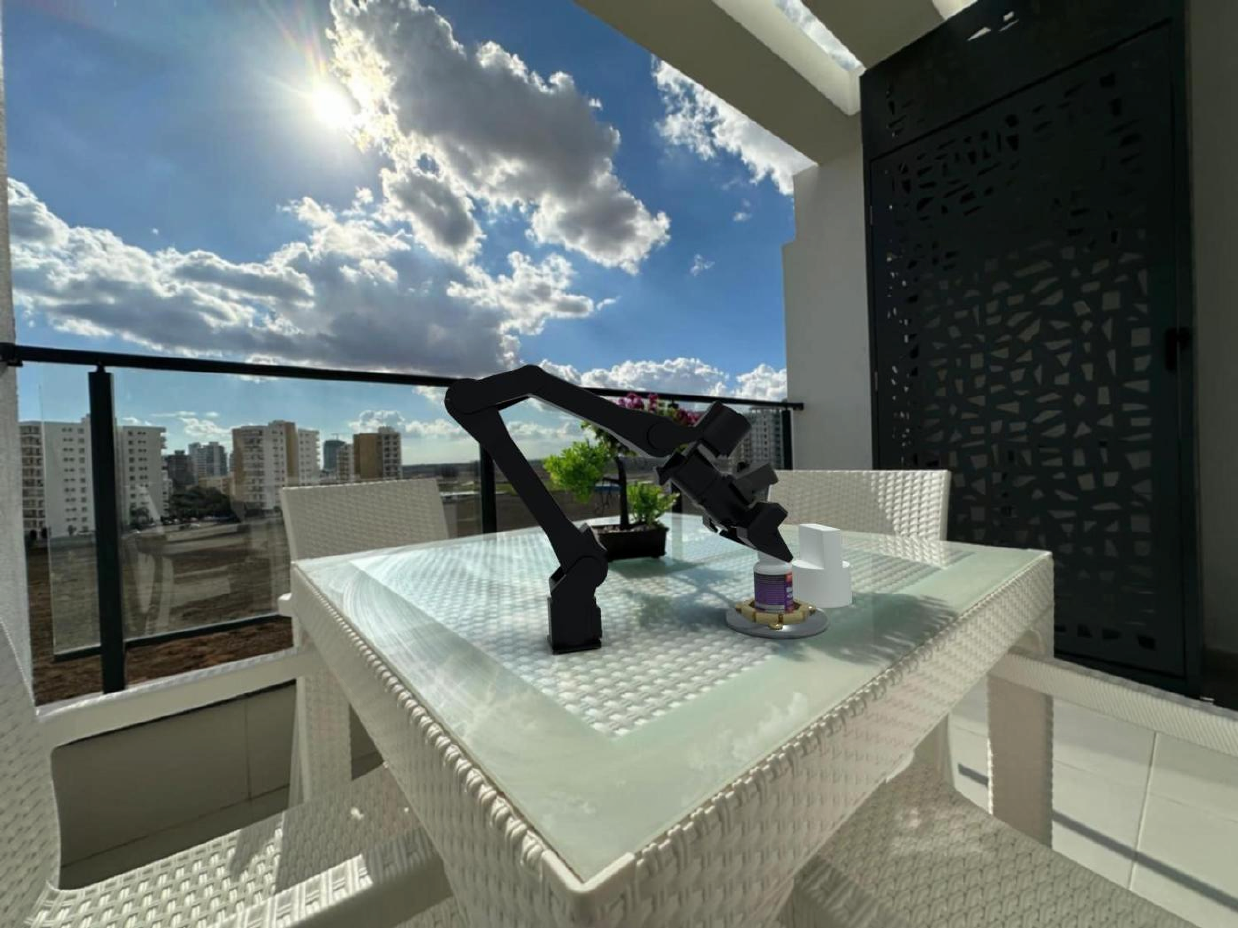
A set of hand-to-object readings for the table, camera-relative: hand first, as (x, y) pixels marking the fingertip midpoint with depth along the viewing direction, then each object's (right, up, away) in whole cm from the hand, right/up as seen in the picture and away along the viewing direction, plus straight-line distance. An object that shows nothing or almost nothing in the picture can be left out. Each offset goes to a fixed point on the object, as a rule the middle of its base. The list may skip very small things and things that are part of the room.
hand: (780, 556), depth 75 cm
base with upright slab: (+10, -9, +10) cm, 17 cm away
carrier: (-1, -9, 0) cm, 9 cm away
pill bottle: (-1, -9, 0) cm, 9 cm away
